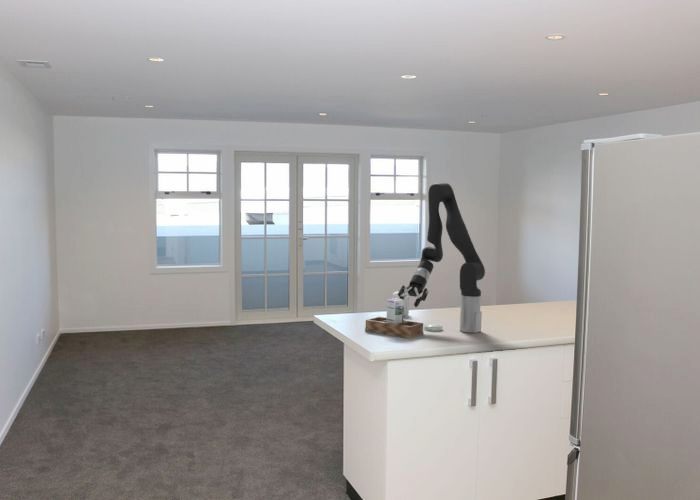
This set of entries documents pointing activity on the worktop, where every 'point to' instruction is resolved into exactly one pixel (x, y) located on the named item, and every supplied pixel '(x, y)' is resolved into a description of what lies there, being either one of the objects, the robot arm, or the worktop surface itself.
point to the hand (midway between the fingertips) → (407, 305)
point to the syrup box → (395, 311)
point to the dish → (433, 327)
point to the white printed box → (406, 302)
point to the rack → (394, 327)
